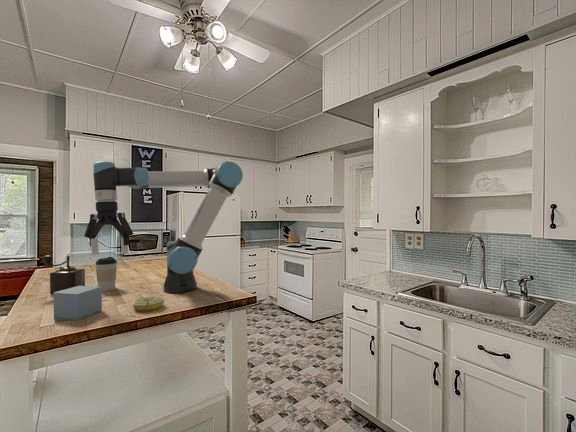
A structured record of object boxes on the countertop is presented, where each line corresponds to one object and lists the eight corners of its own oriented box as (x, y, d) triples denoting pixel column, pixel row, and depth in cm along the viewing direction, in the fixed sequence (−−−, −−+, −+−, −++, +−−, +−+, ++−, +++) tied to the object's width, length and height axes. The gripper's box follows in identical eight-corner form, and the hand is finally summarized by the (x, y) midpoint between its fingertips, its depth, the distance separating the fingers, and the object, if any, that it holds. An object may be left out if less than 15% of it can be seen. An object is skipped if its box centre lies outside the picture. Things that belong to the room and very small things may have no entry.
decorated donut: (150, 303, 123) (150, 294, 123) (169, 306, 118) (169, 296, 118) (127, 310, 114) (127, 300, 114) (147, 314, 109) (147, 304, 109)
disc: (109, 308, 115) (109, 308, 115) (76, 322, 101) (76, 321, 101) (79, 306, 118) (79, 306, 118) (43, 319, 104) (43, 318, 104)
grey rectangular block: (101, 310, 114) (101, 286, 114) (77, 319, 104) (77, 294, 104) (79, 308, 116) (79, 285, 116) (53, 317, 106) (53, 292, 106)
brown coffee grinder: (62, 287, 149) (61, 251, 149) (86, 287, 150) (85, 251, 150) (39, 296, 133) (39, 256, 133) (66, 295, 135) (66, 255, 134)
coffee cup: (110, 291, 141) (109, 259, 141) (91, 291, 142) (90, 259, 141) (121, 286, 151) (120, 256, 150) (103, 286, 151) (103, 256, 151)
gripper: (71, 202, 119) (75, 256, 119) (127, 199, 114) (131, 255, 115) (87, 202, 126) (90, 253, 127) (140, 199, 122) (143, 252, 122)
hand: (109, 254), depth 121 cm, fingers open, 13 cm apart
